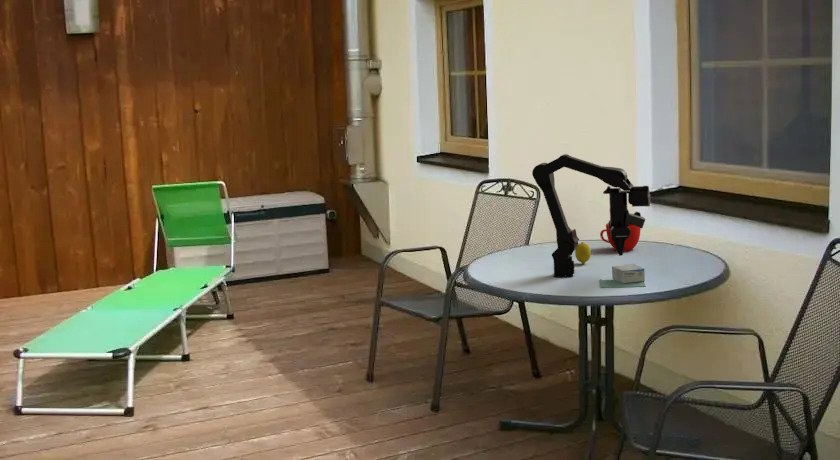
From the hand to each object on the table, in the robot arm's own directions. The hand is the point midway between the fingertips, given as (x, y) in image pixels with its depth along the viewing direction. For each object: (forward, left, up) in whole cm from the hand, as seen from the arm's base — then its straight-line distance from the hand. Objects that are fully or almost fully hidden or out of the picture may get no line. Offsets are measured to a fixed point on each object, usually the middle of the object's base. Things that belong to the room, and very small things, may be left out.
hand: (619, 252), depth 323 cm
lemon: (-12, +22, -8) cm, 26 cm away
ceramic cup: (+2, +45, -8) cm, 46 cm away
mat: (0, -11, -8) cm, 14 cm away
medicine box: (+1, -3, -6) cm, 6 cm away
